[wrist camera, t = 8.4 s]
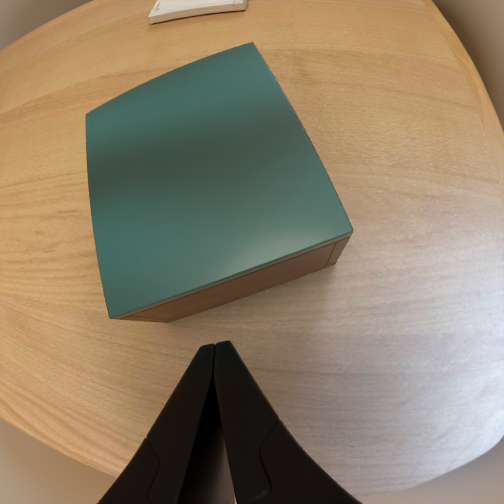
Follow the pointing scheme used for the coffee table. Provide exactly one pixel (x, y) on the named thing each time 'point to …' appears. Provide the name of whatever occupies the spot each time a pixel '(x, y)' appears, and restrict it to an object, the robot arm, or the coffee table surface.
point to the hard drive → (192, 8)
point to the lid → (203, 182)
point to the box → (243, 285)
